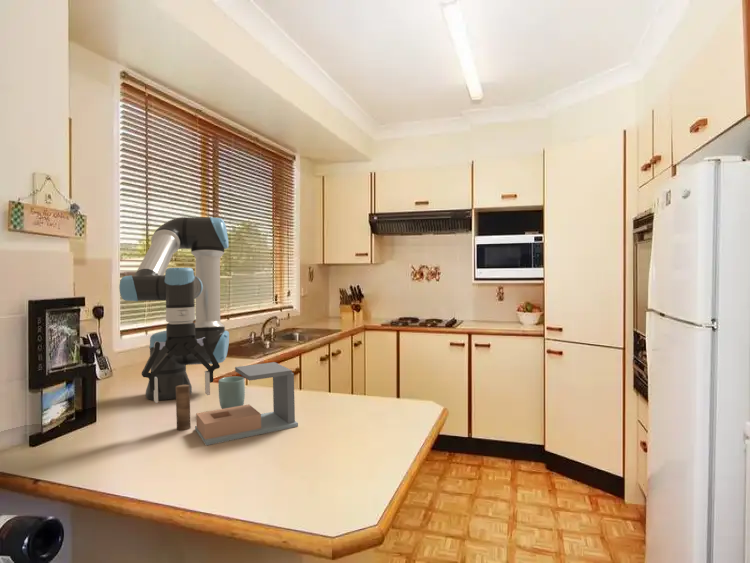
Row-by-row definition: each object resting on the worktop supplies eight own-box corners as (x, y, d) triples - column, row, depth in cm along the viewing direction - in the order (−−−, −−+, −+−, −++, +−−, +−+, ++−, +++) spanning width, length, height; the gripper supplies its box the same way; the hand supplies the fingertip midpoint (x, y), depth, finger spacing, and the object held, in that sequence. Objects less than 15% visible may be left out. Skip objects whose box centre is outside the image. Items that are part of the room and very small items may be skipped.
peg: (175, 427, 132) (174, 385, 131) (189, 425, 134) (188, 384, 133) (178, 431, 129) (176, 388, 128) (191, 428, 131) (190, 386, 130)
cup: (237, 414, 143) (236, 382, 142) (214, 413, 144) (213, 381, 144) (249, 407, 150) (248, 376, 150) (227, 406, 152) (226, 375, 152)
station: (195, 429, 130) (193, 372, 130) (280, 413, 143) (279, 361, 143) (206, 445, 118) (204, 382, 118) (297, 426, 131) (296, 369, 131)
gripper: (131, 326, 121) (134, 408, 121) (229, 320, 134) (230, 393, 134) (129, 324, 127) (131, 401, 127) (222, 318, 140) (224, 388, 140)
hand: (182, 397), depth 131 cm, fingers open, 13 cm apart
